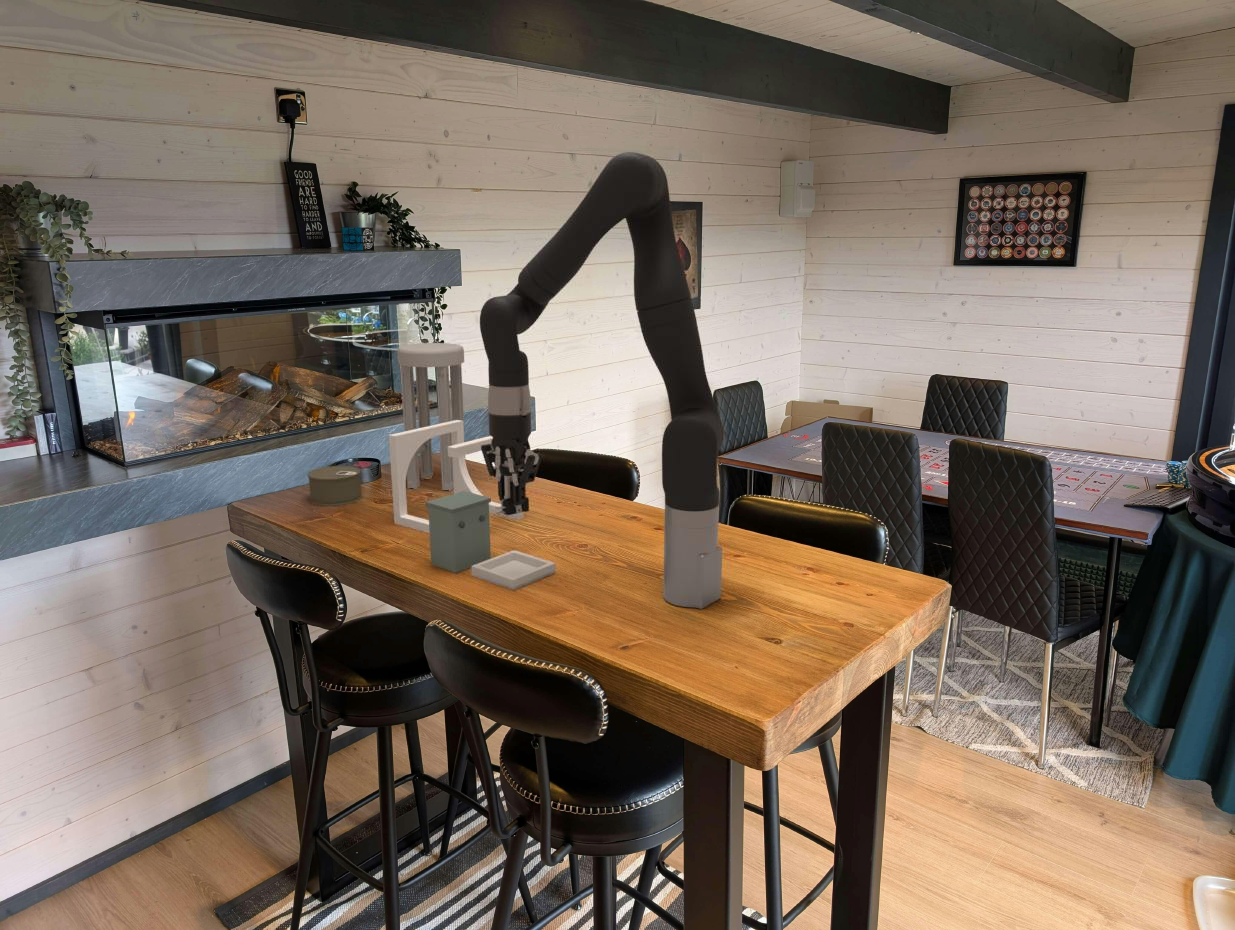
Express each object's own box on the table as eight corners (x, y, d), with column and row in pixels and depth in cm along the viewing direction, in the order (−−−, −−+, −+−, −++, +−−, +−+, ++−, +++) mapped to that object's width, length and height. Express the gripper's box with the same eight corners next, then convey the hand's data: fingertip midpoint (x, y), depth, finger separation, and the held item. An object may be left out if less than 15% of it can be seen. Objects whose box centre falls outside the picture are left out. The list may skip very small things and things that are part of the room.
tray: (555, 573, 165) (555, 563, 165) (513, 590, 157) (513, 580, 157) (514, 559, 172) (514, 550, 172) (471, 575, 164) (471, 565, 163)
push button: (504, 519, 158) (502, 465, 155) (488, 513, 162) (486, 460, 159) (535, 512, 162) (533, 459, 159) (518, 506, 166) (517, 454, 163)
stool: (396, 490, 218) (387, 349, 209) (420, 474, 233) (412, 342, 224) (456, 494, 216) (449, 351, 207) (476, 477, 230) (471, 343, 222)
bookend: (523, 517, 198) (521, 430, 193) (458, 542, 182) (454, 448, 177) (460, 502, 209) (457, 419, 204) (394, 523, 194) (388, 435, 189)
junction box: (493, 559, 172) (490, 498, 169) (455, 573, 165) (452, 509, 162) (466, 551, 177) (464, 490, 174) (429, 564, 170) (425, 501, 166)
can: (326, 491, 218) (324, 464, 216) (371, 494, 216) (369, 467, 214) (300, 505, 207) (297, 477, 205) (347, 508, 204) (345, 480, 203)
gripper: (467, 407, 158) (470, 499, 163) (522, 417, 150) (524, 514, 154) (497, 401, 164) (500, 490, 168) (552, 411, 155) (554, 504, 160)
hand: (512, 501), depth 161 cm, fingers closed on push button, 3 cm apart
